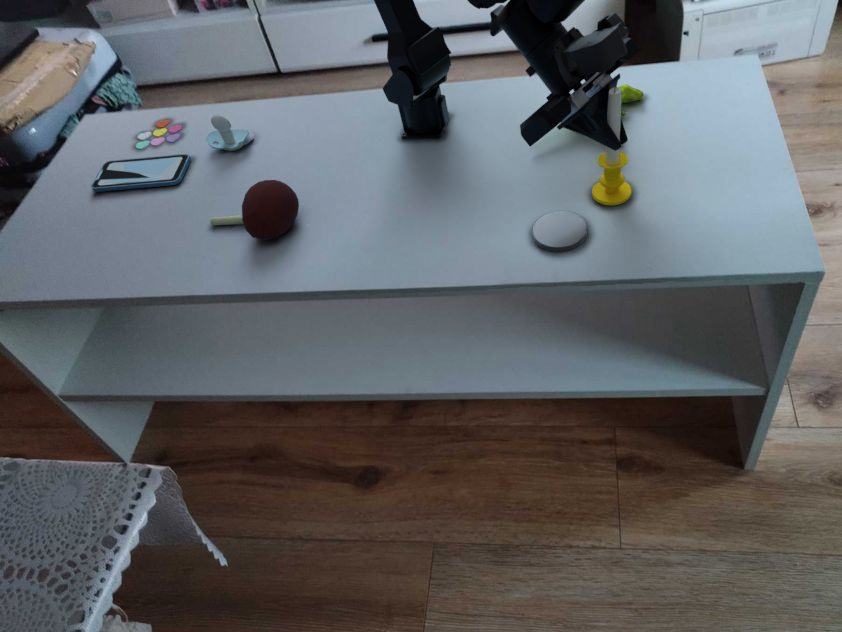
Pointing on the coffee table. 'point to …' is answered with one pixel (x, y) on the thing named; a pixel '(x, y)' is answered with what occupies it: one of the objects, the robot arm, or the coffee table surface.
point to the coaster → (559, 231)
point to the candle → (612, 160)
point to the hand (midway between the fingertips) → (621, 145)
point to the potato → (269, 209)
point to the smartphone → (141, 172)
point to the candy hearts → (159, 133)
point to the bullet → (226, 220)
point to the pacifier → (227, 135)
